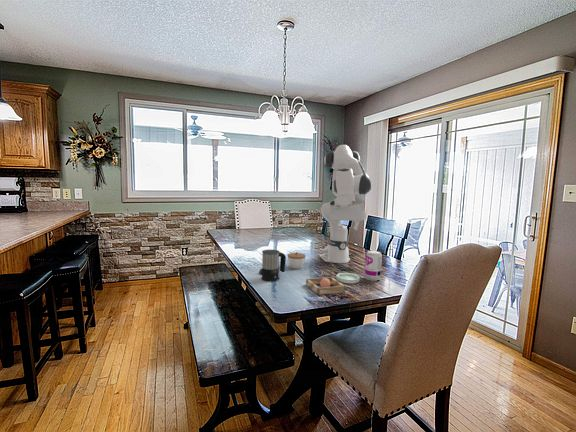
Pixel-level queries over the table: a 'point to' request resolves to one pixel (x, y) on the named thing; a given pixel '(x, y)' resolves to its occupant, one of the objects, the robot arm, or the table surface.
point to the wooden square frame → (325, 290)
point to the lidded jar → (296, 260)
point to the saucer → (348, 278)
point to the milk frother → (272, 265)
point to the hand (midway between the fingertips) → (347, 229)
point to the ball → (325, 282)
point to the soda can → (373, 265)
